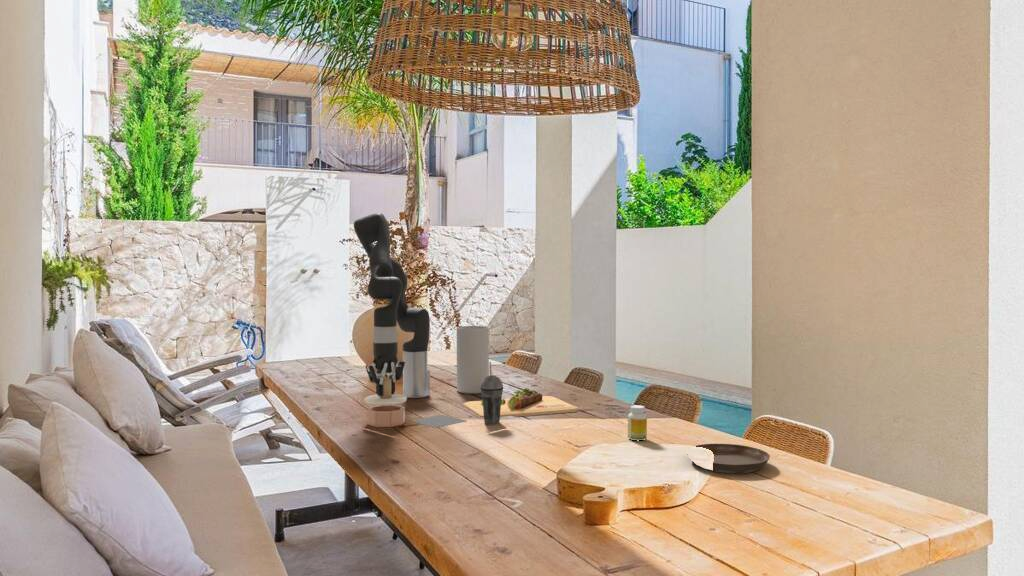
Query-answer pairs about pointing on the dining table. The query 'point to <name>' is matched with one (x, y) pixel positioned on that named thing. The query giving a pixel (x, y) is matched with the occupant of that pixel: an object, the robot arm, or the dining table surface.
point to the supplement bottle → (637, 423)
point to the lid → (386, 395)
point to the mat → (438, 421)
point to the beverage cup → (491, 398)
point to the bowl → (386, 415)
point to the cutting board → (526, 405)
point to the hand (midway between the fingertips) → (385, 394)
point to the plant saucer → (736, 458)
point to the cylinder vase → (472, 358)
